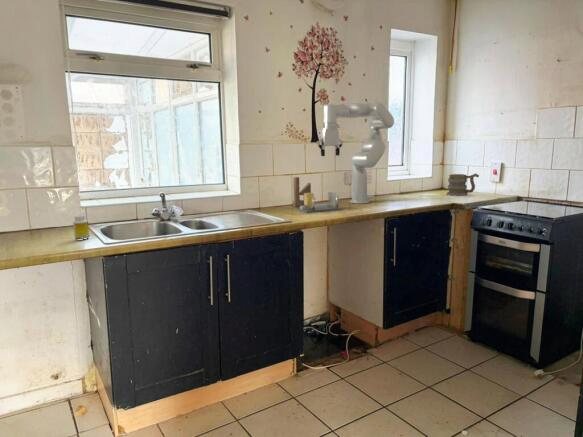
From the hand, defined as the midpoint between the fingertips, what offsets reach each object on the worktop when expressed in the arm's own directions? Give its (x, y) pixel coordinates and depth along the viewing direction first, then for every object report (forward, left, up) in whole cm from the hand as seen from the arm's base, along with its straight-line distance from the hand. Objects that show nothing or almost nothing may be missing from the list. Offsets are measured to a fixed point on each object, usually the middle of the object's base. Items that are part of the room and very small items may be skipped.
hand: (330, 155), depth 259 cm
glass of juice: (+135, +26, -31) cm, 141 cm away
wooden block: (+14, -11, -31) cm, 35 cm away
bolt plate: (+12, +8, -30) cm, 34 cm away
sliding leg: (+18, +9, -29) cm, 35 cm away
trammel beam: (+12, +9, -29) cm, 33 cm away
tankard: (-102, +2, -31) cm, 107 cm away
